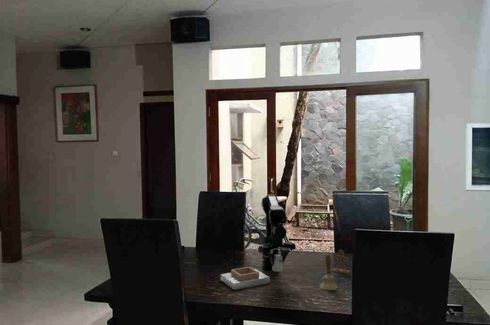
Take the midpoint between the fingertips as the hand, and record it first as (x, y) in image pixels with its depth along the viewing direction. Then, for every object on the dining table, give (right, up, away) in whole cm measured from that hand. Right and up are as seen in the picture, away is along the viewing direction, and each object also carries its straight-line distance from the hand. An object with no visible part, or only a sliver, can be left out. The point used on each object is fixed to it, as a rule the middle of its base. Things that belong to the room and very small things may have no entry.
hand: (277, 264), depth 200 cm
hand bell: (+25, -10, -4) cm, 27 cm away
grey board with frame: (-16, -10, +6) cm, 20 cm away
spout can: (0, -3, 0) cm, 3 cm away
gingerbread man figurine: (+36, -9, +20) cm, 42 cm away
